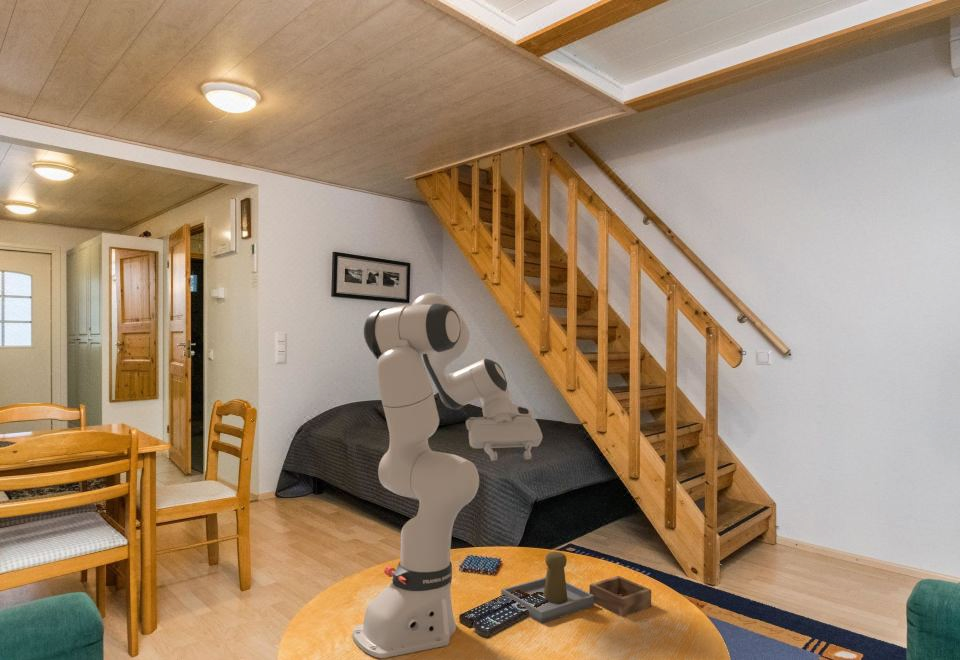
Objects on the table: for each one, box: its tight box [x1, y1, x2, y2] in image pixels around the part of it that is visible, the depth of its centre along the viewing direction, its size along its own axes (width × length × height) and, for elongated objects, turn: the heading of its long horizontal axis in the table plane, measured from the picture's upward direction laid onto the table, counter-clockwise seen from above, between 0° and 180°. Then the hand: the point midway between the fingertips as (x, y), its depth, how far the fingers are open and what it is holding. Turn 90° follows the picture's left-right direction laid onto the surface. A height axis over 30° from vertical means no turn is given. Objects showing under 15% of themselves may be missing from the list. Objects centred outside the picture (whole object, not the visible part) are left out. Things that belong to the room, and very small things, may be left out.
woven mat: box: [458, 554, 503, 576], centre depth 167 cm, size 10×11×2 cm
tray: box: [500, 576, 595, 624], centre depth 144 cm, size 17×15×2 cm
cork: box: [543, 551, 567, 604], centre depth 144 cm, size 6×6×11 cm
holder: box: [589, 575, 652, 618], centre depth 144 cm, size 10×10×4 cm
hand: (511, 458), depth 154 cm, fingers open, 8 cm apart
